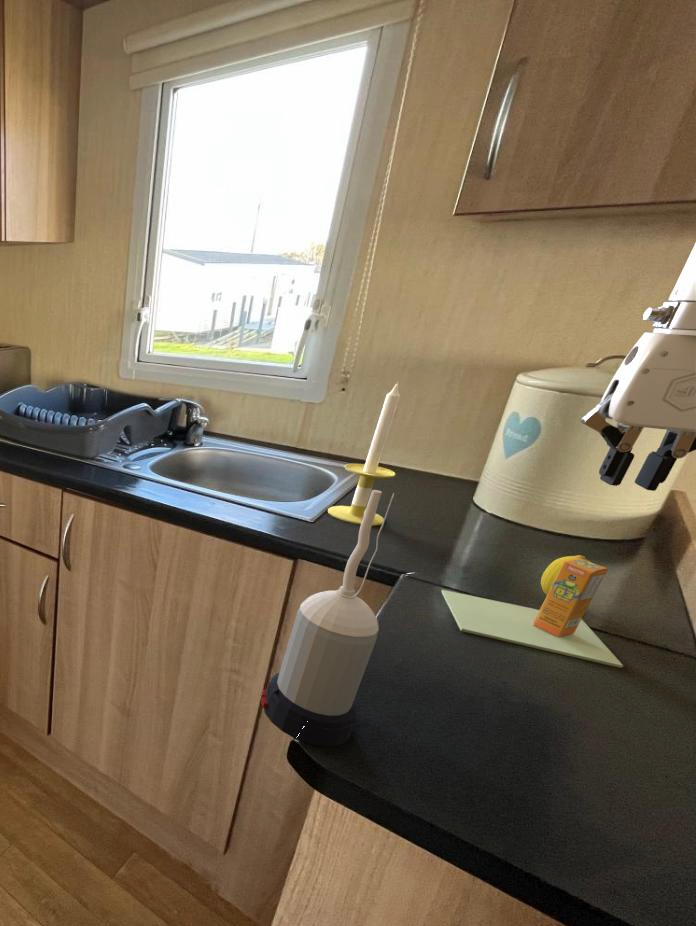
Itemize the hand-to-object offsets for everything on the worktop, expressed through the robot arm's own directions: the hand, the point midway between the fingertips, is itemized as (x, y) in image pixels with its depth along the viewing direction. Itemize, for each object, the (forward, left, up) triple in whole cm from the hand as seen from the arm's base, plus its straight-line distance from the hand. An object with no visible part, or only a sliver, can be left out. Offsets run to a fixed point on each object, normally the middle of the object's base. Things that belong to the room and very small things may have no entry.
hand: (627, 483), depth 66 cm
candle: (+20, -36, -21) cm, 46 cm away
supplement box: (0, 0, -21) cm, 21 cm away
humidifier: (+30, +35, -21) cm, 51 cm away
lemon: (-4, -11, -21) cm, 24 cm away
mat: (+3, 0, -21) cm, 21 cm away
